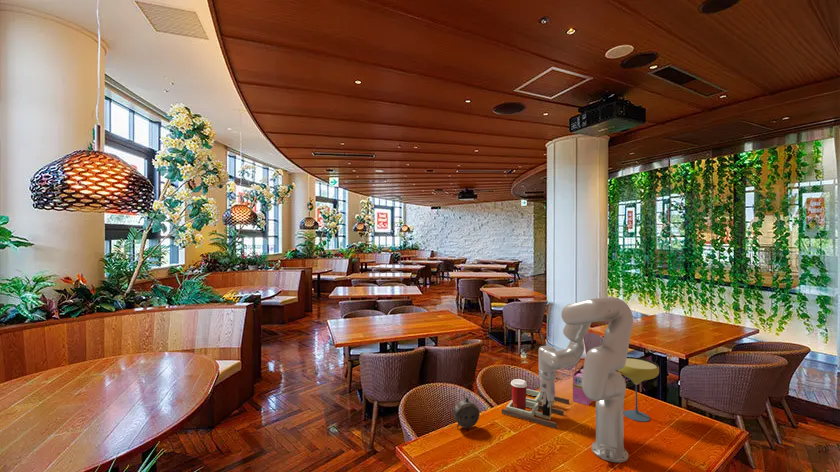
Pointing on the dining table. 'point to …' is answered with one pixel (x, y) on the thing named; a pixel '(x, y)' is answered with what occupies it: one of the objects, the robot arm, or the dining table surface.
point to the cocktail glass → (638, 381)
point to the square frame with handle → (537, 399)
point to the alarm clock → (466, 413)
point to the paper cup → (519, 393)
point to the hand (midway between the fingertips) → (547, 413)
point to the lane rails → (538, 420)
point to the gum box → (579, 388)
